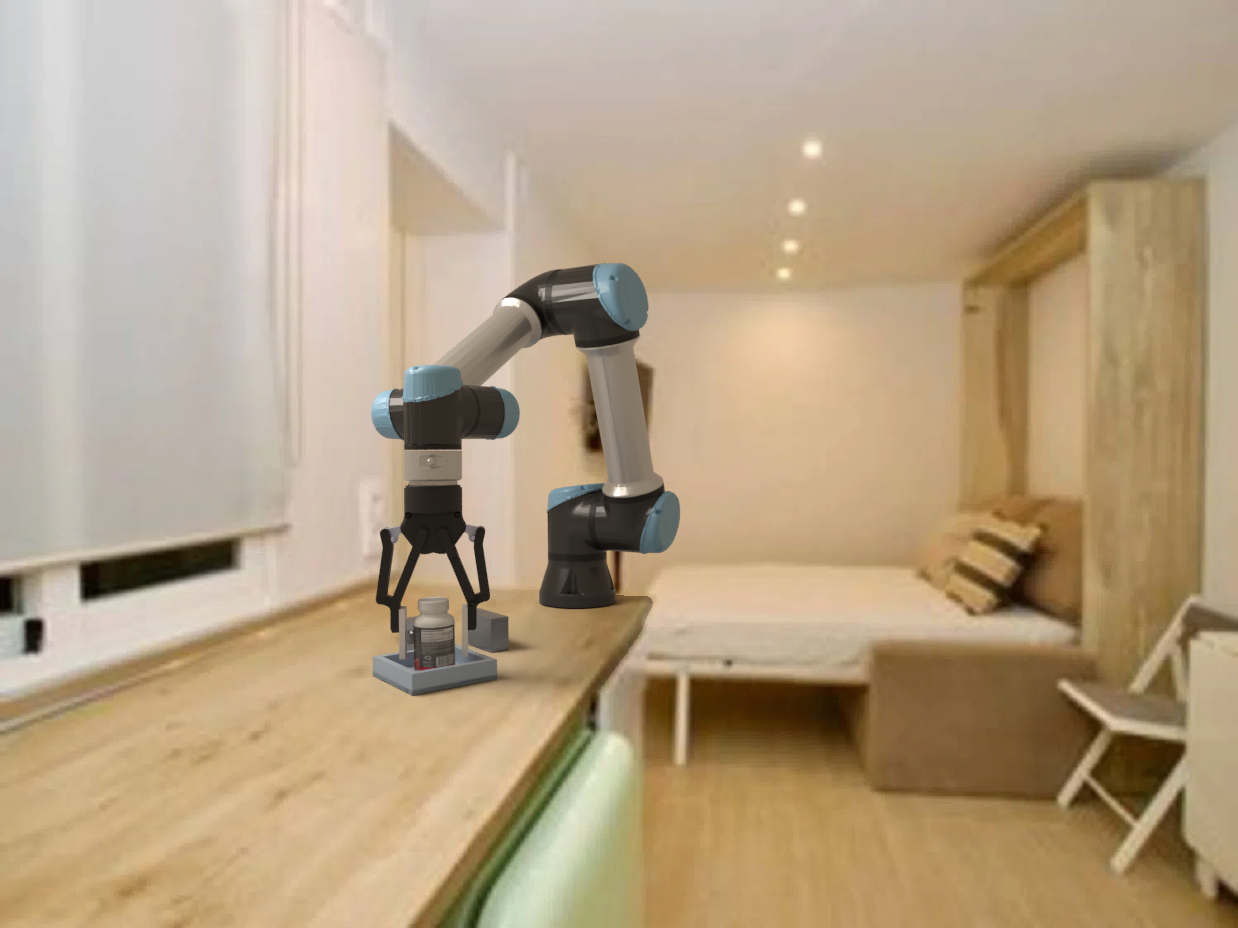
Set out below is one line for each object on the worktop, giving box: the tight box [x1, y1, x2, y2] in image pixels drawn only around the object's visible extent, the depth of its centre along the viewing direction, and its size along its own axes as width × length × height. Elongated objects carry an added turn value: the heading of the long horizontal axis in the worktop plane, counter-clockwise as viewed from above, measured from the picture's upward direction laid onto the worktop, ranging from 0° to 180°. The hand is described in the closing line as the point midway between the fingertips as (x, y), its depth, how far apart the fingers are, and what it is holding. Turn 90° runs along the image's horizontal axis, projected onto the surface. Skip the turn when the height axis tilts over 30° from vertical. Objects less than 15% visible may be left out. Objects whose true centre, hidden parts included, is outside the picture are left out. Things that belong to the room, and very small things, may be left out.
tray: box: [372, 643, 498, 696], centre depth 115 cm, size 12×12×3 cm
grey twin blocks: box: [407, 607, 510, 653], centre depth 130 cm, size 15×9×5 cm, turn 129°
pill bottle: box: [413, 596, 456, 671], centre depth 115 cm, size 5×5×10 cm
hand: (434, 655), depth 115 cm, fingers open, 7 cm apart
